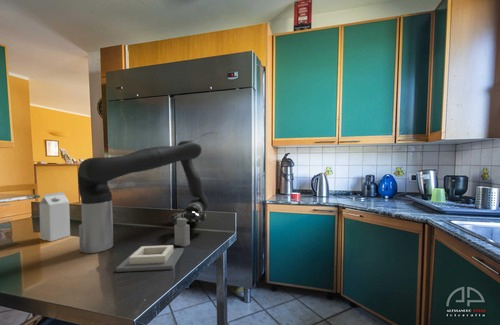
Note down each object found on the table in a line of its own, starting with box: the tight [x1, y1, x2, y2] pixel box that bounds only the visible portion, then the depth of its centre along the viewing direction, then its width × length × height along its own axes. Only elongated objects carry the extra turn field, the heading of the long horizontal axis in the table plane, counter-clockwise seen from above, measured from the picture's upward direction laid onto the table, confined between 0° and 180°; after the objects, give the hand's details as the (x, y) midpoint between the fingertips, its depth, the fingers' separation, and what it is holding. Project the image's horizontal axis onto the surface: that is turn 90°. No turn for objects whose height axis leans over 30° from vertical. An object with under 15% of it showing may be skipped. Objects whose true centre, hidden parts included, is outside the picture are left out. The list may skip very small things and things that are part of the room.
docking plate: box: [115, 244, 184, 273], centre depth 70 cm, size 16×13×3 cm
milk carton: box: [38, 191, 71, 242], centre depth 93 cm, size 7×7×19 cm
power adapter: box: [173, 211, 191, 247], centre depth 84 cm, size 3×5×12 cm, turn 64°
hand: (185, 221), depth 89 cm, fingers open, 8 cm apart
